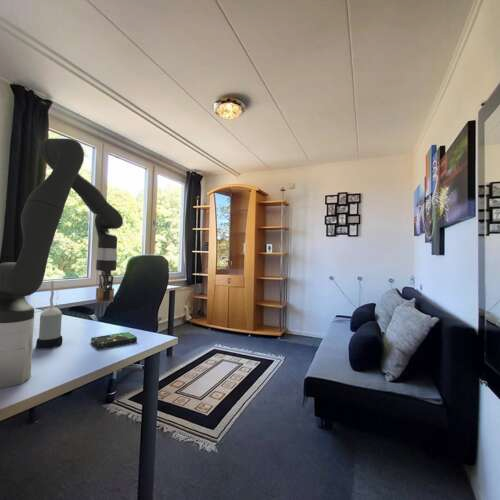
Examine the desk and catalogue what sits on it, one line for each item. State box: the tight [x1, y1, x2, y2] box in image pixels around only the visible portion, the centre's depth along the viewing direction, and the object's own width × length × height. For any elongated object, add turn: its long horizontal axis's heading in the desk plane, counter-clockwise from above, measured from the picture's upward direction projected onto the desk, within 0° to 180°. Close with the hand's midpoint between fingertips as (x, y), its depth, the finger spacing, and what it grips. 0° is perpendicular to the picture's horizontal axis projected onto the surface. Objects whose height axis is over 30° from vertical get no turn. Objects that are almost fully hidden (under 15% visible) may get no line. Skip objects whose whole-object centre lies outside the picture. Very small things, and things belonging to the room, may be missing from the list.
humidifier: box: [35, 280, 64, 350], centre depth 103 cm, size 8×8×25 cm
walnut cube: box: [95, 287, 115, 304], centre depth 111 cm, size 6×6×6 cm
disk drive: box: [90, 331, 138, 351], centre depth 109 cm, size 10×3×15 cm
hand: (104, 299), depth 111 cm, fingers closed on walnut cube, 5 cm apart
